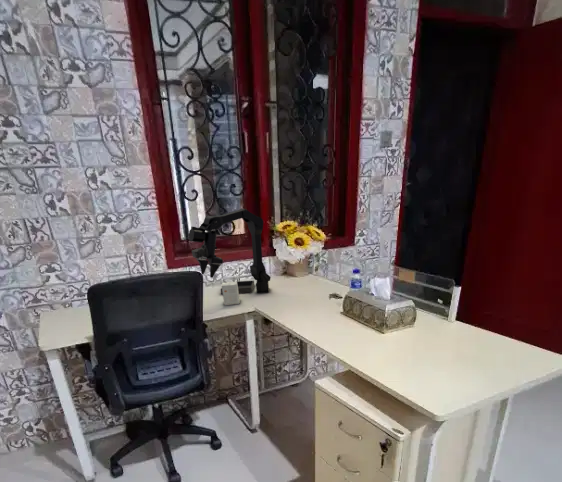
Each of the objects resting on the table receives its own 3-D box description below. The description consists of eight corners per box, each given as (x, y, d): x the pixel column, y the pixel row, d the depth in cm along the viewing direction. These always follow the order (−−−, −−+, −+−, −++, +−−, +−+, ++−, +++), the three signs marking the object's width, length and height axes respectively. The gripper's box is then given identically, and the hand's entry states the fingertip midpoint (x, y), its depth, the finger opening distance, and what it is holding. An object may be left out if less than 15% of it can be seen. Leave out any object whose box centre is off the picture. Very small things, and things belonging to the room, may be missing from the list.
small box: (239, 300, 220) (237, 281, 215) (239, 303, 215) (237, 284, 210) (224, 301, 220) (222, 282, 215) (224, 305, 215) (221, 285, 210)
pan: (254, 285, 242) (253, 280, 241) (251, 292, 231) (251, 287, 229) (225, 287, 244) (224, 282, 242) (221, 294, 232) (220, 289, 231)
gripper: (186, 239, 204) (184, 271, 209) (203, 244, 191) (201, 278, 196) (206, 242, 211) (203, 273, 216) (224, 246, 197) (221, 279, 202)
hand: (207, 275), depth 207 cm, fingers open, 9 cm apart
